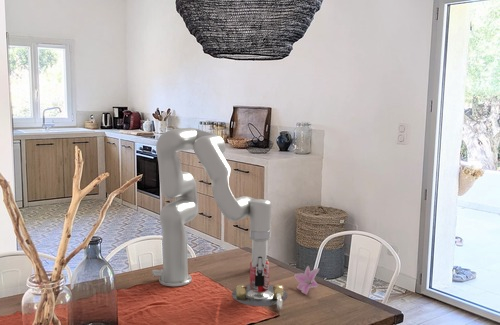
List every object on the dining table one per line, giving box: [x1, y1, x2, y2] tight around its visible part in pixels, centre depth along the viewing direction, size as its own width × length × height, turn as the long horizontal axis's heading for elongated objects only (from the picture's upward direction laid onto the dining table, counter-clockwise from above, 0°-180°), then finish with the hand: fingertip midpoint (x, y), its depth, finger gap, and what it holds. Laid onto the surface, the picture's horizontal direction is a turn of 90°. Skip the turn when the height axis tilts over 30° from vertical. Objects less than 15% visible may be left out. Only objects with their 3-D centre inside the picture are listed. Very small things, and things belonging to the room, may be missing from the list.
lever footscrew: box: [273, 284, 284, 310], centre depth 171 cm, size 13×4×4 cm, turn 179°
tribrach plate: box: [231, 284, 288, 307], centre depth 180 cm, size 20×20×6 cm
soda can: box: [249, 257, 270, 293], centre depth 179 cm, size 7×7×12 cm
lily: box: [293, 265, 320, 296], centre depth 185 cm, size 12×12×10 cm
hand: (259, 281), depth 179 cm, fingers closed on soda can, 7 cm apart
